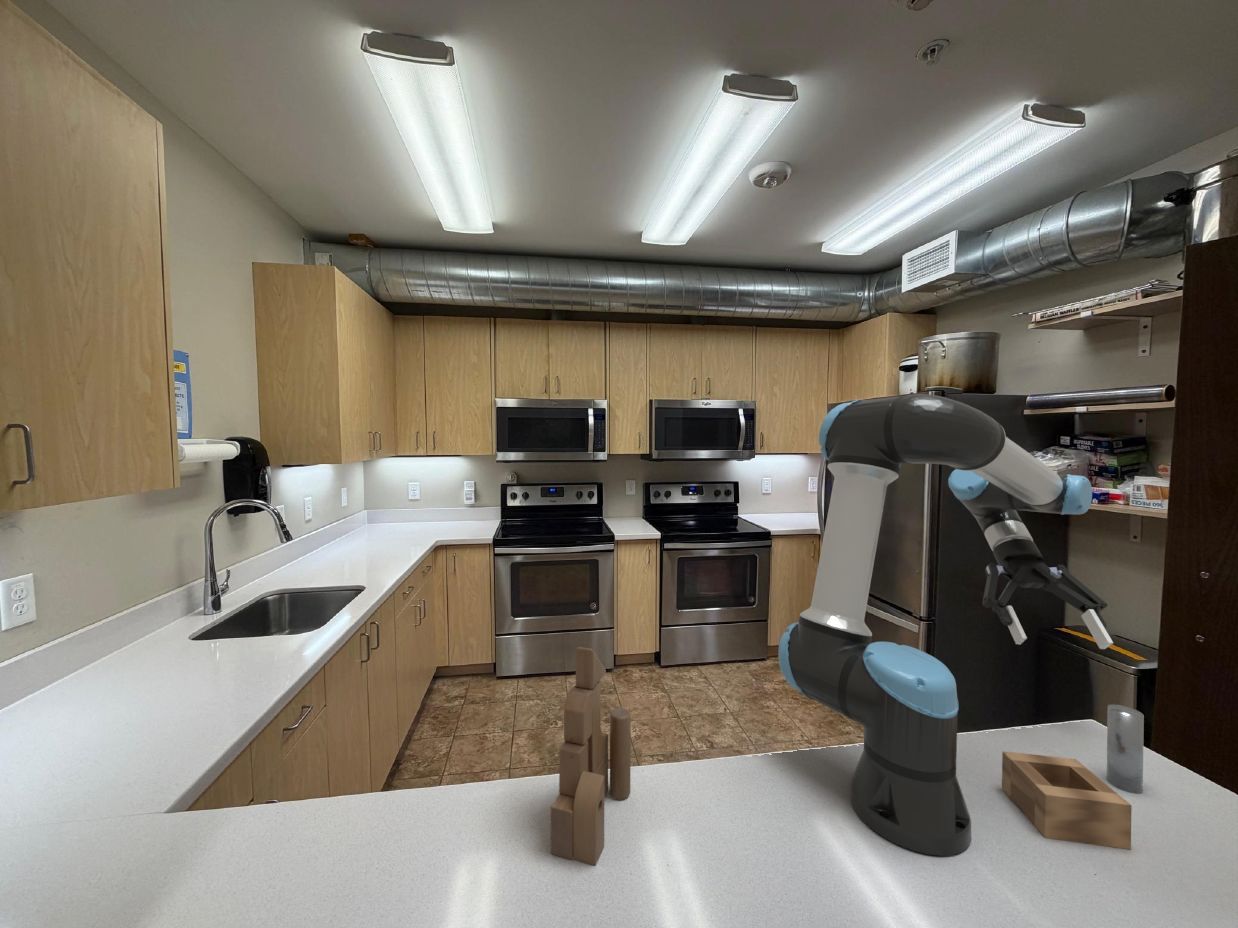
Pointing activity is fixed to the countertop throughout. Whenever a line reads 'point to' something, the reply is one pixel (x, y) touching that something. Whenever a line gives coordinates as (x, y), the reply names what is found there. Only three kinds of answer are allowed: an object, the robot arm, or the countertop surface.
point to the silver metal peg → (1125, 748)
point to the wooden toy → (588, 765)
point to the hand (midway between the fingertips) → (1063, 643)
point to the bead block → (1066, 800)
